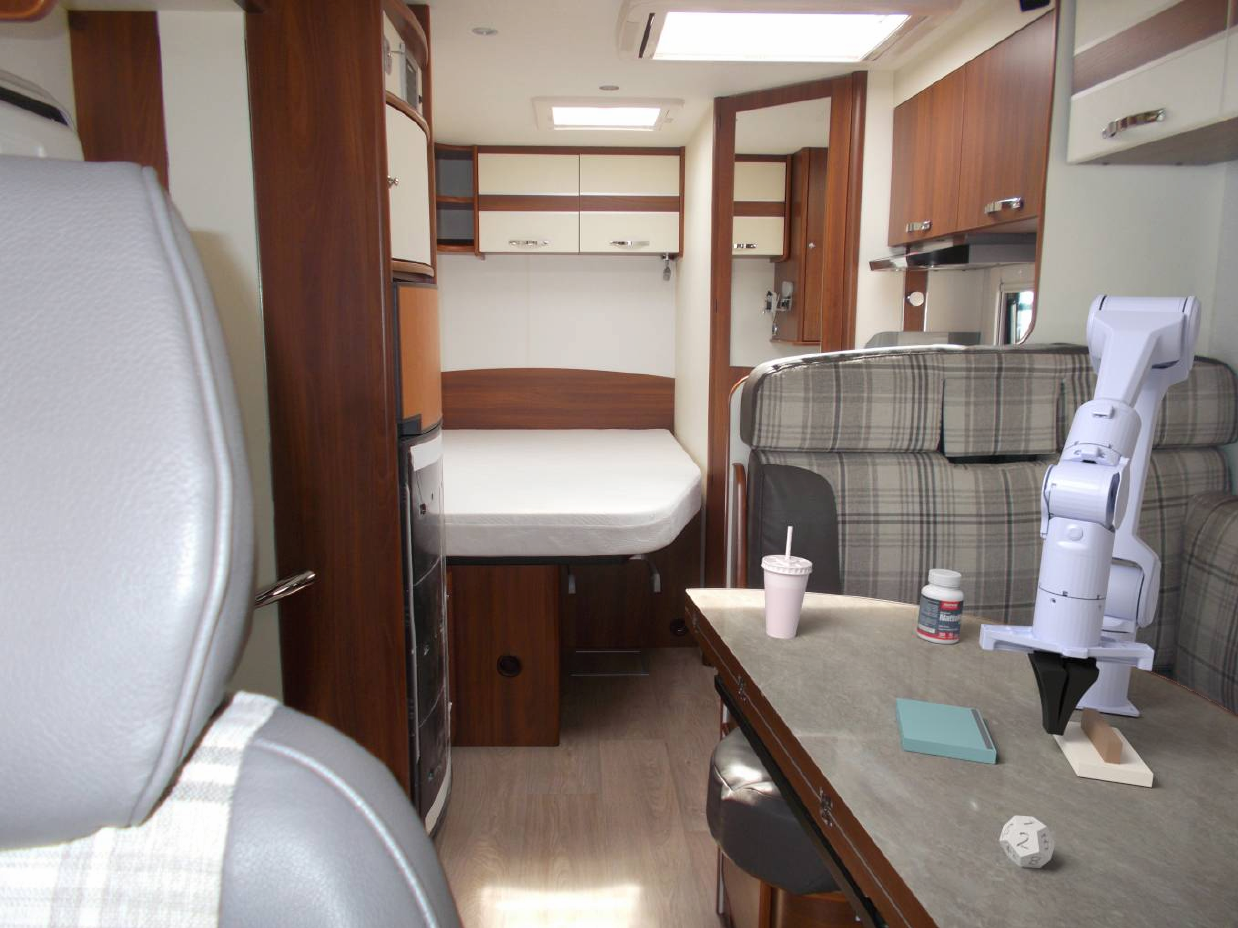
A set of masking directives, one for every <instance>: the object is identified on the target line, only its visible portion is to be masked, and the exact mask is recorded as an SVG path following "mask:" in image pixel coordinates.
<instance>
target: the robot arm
mask: <svg viewBox="0 0 1238 928" xmlns="http://www.w3.org/2000/svg"><path fill="white" fill-rule="evenodd" d="M1201 320H1202V302H1201V300H1199V298H1198V297H1197V296H1196V295H1189V296H1188V297H1187V296H1148V295H1147V296H1146V295H1145V296H1144V295H1143V296H1139V295H1137V296H1135V295H1133V296H1132V295H1107V294H1106V293H1103V294H1102V293H1101V294H1099V295H1098V296H1097V297H1095V299H1093V301H1092V302H1091V304H1090V307H1089V311H1088V316H1087V323H1086V336H1085V338H1086V345H1087V347H1088V353H1089V359H1090V365H1091V366H1092V368H1093V374H1095V375H1096V376H1097V380H1096V385H1095V389H1094V395H1093V399H1092V400H1088V401H1086V402H1085V403H1084V402H1083V404H1082V405H1080V406H1079V407H1078V408H1077V409H1076V412H1075V414H1074V417H1073V420H1072V423H1071V427H1070V429H1069V432H1068V434H1067V436H1066V441H1065V444H1064V447H1063V449H1062V452H1061V456H1060V458H1059V461H1058V463H1057V465H1055V464H1053V463H1052V464H1050V465H1048V467H1047V469H1046V471H1045V475H1044V477H1043V481H1042V487H1041V494H1040V511H1041V521H1040V522H1041V523H1040V529H1039V530H1040V531H1039V532H1040V538H1041V539H1043V542H1042V543H1043V544H1042V552H1041V558H1040V559H1041V560H1040V566H1039V572H1038V582H1037V591H1036V598H1035V605H1034V613H1033V621H1032V625H1031V626H1030V625H1029V626H1028V625H1026V626H1024V625H996V624H993V625H992V624H983V623H982V624H981V625H980V632H979V633H980V634H979V640H978V641H979V642H978V644H979V646H980V647H981V649H982V650H985V651H992V652H993V651H995V650H999V651H1000V650H1002V651H1008V652H1009V651H1010V652H1015V653H1016V652H1017V653H1024V654H1027V656H1028V660H1029V662H1030V664H1031V669H1032V671H1033V673H1034V677H1035V680H1036V685H1037V688H1038V693H1039V699H1040V705H1041V711H1042V712H1041V713H1042V715H1041V716H1042V727H1043V729H1044V731H1045V732H1046V734H1049V735H1052V736H1053V735H1060V736H1063V735H1064V732H1065V729H1066V726H1067V724H1068V721H1070V719H1071V717H1072V715H1073V713H1074V712H1075V710H1076V709H1078V710H1083V707H1086V708H1094V709H1097V710H1098V712H1099V713H1108V714H1114V715H1122V716H1129V717H1130V716H1131V717H1139V716H1140V714H1141V713H1140V711H1139V710H1138V709H1137V708H1136V707H1135V705H1134V704H1133V702H1131V701H1130V700H1129V699H1128V691H1129V685H1130V677H1131V673H1132V672H1131V670H1132V667H1136V668H1137V669H1138V670H1142V671H1150V672H1152V670H1153V665H1154V664H1153V663H1154V658H1155V656H1154V655H1155V651H1156V650H1155V649H1153V648H1152V647H1151V646H1149V644H1147V643H1142V642H1141V643H1140V642H1136V636H1137V630H1138V629H1139V628H1143V629H1145V628H1146V627H1147V626H1149V625H1150V624H1152V622H1153V620H1154V617H1155V613H1156V610H1157V605H1158V599H1159V593H1160V592H1159V591H1160V582H1161V581H1160V574H1161V569H1162V563H1161V561H1160V559H1159V558H1160V557H1159V555H1158V554H1157V553H1156V552H1155V551H1154V550H1153V549H1152V548H1151V547H1150V546H1149V545H1148V544H1147V543H1145V542H1144V541H1143V540H1142V539H1141V538H1140V537H1139V536H1138V535H1137V533H1138V529H1139V528H1138V527H1139V523H1140V522H1139V521H1140V516H1141V510H1142V506H1143V501H1144V494H1145V488H1146V483H1147V478H1148V471H1149V466H1150V460H1151V454H1152V451H1153V449H1152V448H1153V445H1154V444H1153V443H1154V438H1155V433H1156V432H1155V431H1156V427H1157V426H1156V425H1157V423H1158V422H1157V421H1158V416H1159V410H1160V406H1161V404H1162V402H1163V399H1164V397H1165V395H1166V393H1167V392H1168V388H1169V387H1170V386H1172V385H1175V384H1178V383H1181V382H1184V381H1187V380H1188V378H1189V372H1191V370H1192V369H1193V364H1194V359H1195V353H1196V347H1197V344H1198V340H1199V334H1200V327H1201V322H1202V321H1201ZM1112 560H1115V561H1121V562H1127V563H1132V564H1136V565H1139V566H1140V567H1137V566H1129V565H1125V564H1120V563H1116V562H1115V563H1114V562H1112Z"/></svg>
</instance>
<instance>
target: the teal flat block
mask: <svg viewBox="0 0 1238 928" xmlns="http://www.w3.org/2000/svg"><path fill="white" fill-rule="evenodd" d="M894 710H895V715H896V720H897V725H898V730H899V731H898V732H899V735H900V736H899V737H900V740H901V747H902V751H905V752H906V751H907V752H912V753H913V752H914V753H919V754H924V755H925V754H926V755H931V756H938V757H943V758H944V757H946V758H951V759H958V760H965V761H971V762H977V763H978V762H979V763H984V764H991V765H996V758H997V750H996V748H995V746H994V743H993V740H992V738H991V736H990V734H989V730H988V729H987V727H986V725H985V722H984V720H983V717H982V714H981V713H980V709H978V708H972V707H966V706H964V707H963V706H957V705H950V704H943V703H937V702H936V703H935V702H929V701H922V700H916V699H914V700H913V699H908V698H901V697H895V707H894Z"/></svg>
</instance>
